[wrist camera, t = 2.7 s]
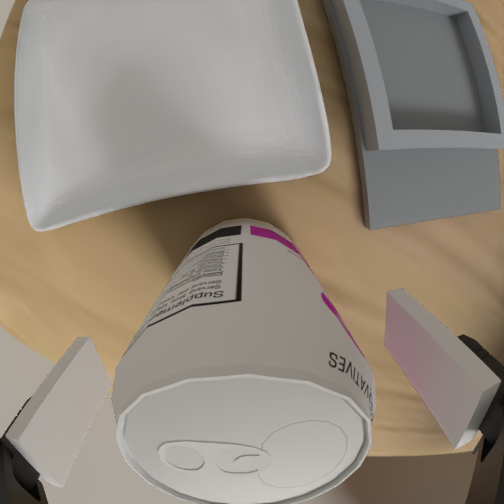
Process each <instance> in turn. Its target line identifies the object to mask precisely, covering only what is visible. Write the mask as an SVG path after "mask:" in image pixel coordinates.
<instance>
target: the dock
mask: <svg viewBox="0 0 504 504" xmlns="http://www.w3.org/2000/svg"><path fill="white" fill-rule="evenodd" d="M322 3H323V6H324V9H325V12H326V15H327V18H328V22H329V25H330V28H331V32H332V35H333V39H334V43H335V46H336V50H337V54H338V58H339V62H340V66H341V70H342V75H343V79H344V83H345V88H346V93H347V98H348V103H349V108H350V113H351V119H352V124H353V130H354V136H355V142H356V149H357V156H358V163H359V171H360V179H361V188H362V197H363V208H364V220H365V227H366V228H368V229H370V230H373V229H379V228H385V227H392V226H398V225H404V224H410V223H416V222H423V221H429V220H435V219H441V218H448V217H454V216H460V215H466V214H473V213H479V212H485V211H491V210H498V209H500V173H499V160H498V149H504V101H503V96H502V92H501V87H500V83H499V79H498V75H497V72H496V68H495V65H494V61H493V58H492V55H491V51H490V48H489V45H488V42H487V40H486V37H485V34H484V31H483V29H482V26H481V24H480V21H479V19H478V16H477V14H476V11H475V9H474V7H473V5H472V4H471V3H469V2H466V1H464V0H322Z"/></svg>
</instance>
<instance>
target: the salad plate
mask: <svg viewBox="0 0 504 504" xmlns="http://www.w3.org/2000/svg"><path fill="white" fill-rule="evenodd" d="M14 117H15V135H16V147H17V158H18V167H19V175H20V182H21V189H22V195H23V200H24V205H25V210H26V214H27V217H28V221H29V223H30V226H31V227H32V228H33V229H34V230H36V231H48V230H53V229H56V228H60V227H63V226H66V225H69V224H73V223H76V222H79V221H82V220H85V219H89V218H92V217H96V216H99V215H102V214H106V213H110V212H113V211H117V210H121V209H125V208H128V207H132V206H136V205H140V204H144V203H148V202H152V201H157V200H162V199H167V198H171V197H176V196H182V195H187V194H192V193H198V192H205V191H211V190H217V189H223V188H230V187H238V186H246V185H254V184H262V183H271V182H280V181H287V180H293V179H299V178H305V177H309V176H313V175H316V174H319V173H321V172H323V171H325V170H326V169H327V168H328V166H329V165H330V163H331V158H332V148H331V139H330V132H329V126H328V120H327V115H326V110H325V105H324V101H323V96H322V92H321V88H320V83H319V79H318V75H317V72H316V68H315V64H314V59H313V55H312V52H311V48H310V44H309V41H308V37H307V34H306V30H305V27H304V23H303V19H302V16H301V12H300V8H299V5H298V1H297V0H29V1H28V2H27V3H26V5H25V6H24V9H23V12H22V16H21V21H20V26H19V32H18V40H17V49H16V60H15V76H14Z"/></svg>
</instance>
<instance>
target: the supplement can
mask: <svg viewBox="0 0 504 504" xmlns="http://www.w3.org/2000/svg"><path fill="white" fill-rule="evenodd" d="M111 399H112V404H113V409H114V414H115V418H116V423H117V433H116V442H117V444H118V447H119V449H120V451H121V453H122V455H123V457H124V459H125V461H126V463H127V464H128V465H129V466H130V467H131V468H132V469H133V470H134V471H135V472H136V473H137V474H138V475H140V477H142V478H143V479H144V480H145V481H146V482H147V483H149V484H151V485H153V486H154V487H156V488H158V489H160V490H161V491H163V492H165V493H167V494H169V495H171V496H173V497H175V498H178V499H181V500H184V501H187V502H191V503H194V504H295V503H299V502H303V501H306V500H309V499H312V498H314V497H316V496H318V495H320V494H322V493H324V492H326V491H328V490H330V489H332V488H334V487H336V486H338V485H339V484H340V483H342V482H343V481H344V480H345V479H346V478H347V477H349V476H350V475H351V474H352V473H353V472H354V471H356V470H357V469H358V468H359V467H360V466H361V464H362V462H363V460H364V458H365V457H366V455H367V453H368V451H369V449H370V448H371V446H372V432H371V426H372V421H373V417H374V412H375V407H376V396H375V384H374V373H373V371H372V370H371V368H370V366H369V364H368V363H367V361H366V359H365V358H364V356H363V354H362V352H361V351H360V349H359V347H358V346H357V344H356V342H355V340H354V339H353V337H352V335H351V334H350V332H349V330H348V329H347V327H346V325H345V324H344V322H343V320H342V319H341V317H340V315H339V314H338V312H337V310H336V309H335V307H334V306H333V304H332V302H331V301H330V299H329V297H328V296H327V294H326V293H325V291H324V289H323V288H322V286H321V284H320V283H319V281H318V280H317V278H316V276H315V275H314V273H313V272H312V270H311V269H310V267H309V265H308V264H307V262H306V261H305V259H304V258H303V256H302V254H301V253H300V251H299V250H298V249H297V247H296V246H295V245H294V243H293V242H292V241H291V239H290V238H289V237H288V235H287V234H286V233H284V232H283V231H281V230H280V229H278V228H276V227H275V226H273V225H272V224H270V223H268V222H264V221H260V220H255V219H250V218H240V219H233V220H226V221H223V222H221V223H219V224H217V225H215V226H213V227H211V228H210V229H208V230H206V231H204V233H203V234H202V235H201V236H200V237H199V238H198V239H197V241H196V242H195V243H194V244H193V245H192V246H191V248H190V249H189V251H188V252H187V254H186V255H185V257H184V258H183V260H182V261H181V263H180V264H179V266H178V267H177V269H176V270H175V272H174V274H173V275H172V277H171V278H170V280H169V281H168V283H167V284H166V286H165V288H164V289H163V291H162V292H161V294H160V296H159V297H158V299H157V300H156V302H155V303H154V305H153V307H152V308H151V310H150V312H149V313H148V315H147V316H146V318H145V320H144V321H143V323H142V325H141V326H140V328H139V330H138V331H137V333H136V335H135V336H134V338H133V340H132V341H131V343H130V345H129V346H128V348H127V350H126V351H125V353H124V355H123V357H122V358H121V360H120V362H119V364H118V365H117V367H116V372H115V378H114V384H113V391H112V398H111Z"/></svg>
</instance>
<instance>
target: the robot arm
mask: <svg viewBox="0 0 504 504" xmlns="http://www.w3.org/2000/svg"><path fill="white" fill-rule="evenodd" d="M384 345H385V347H386V348H387V350H388V351H389V352H390V354H391V355H392V356H393V358H394V359H395V361H396V362H397V364H398V365H399V366H400V368H401V369H402V371H403V372H404V373H405V375H406V376H407V378H408V379H409V381H410V382H411V384H412V385H413V386H414V388H415V389H416V391H417V392H418V394H419V395H420V397H421V398H422V400H423V401H424V403H425V404H426V406H427V407H428V409H429V410H430V412H431V413H432V415H433V416H434V418H435V419H436V421H437V422H438V424H439V425H440V427H441V429H442V430H443V432H444V433H445V435H446V436H447V438H448V440H449V441H450V443H451V444H452V446H453V447H454V449H457V448H459V447H461V446H463V445H464V444H466V443H468V442H470V441H471V440H473V438H474V436H475V435H476V433H477V431H478V429H479V430H480V431H481V433H482V434H483V436H482V437H481V439H480V441H479V442H478V444H477V446H476V447H475V449H474V451H473V454H475V453H476V452H477V450H478V449H479V450H478V456H477V460H476V465H475V469H474V473H473V478H472V482H471V485H470V489H469V493H468V496H467V499H466V502H465V504H504V367H503V366H502V365H501V364H500V363H499V362H498V361H497V360H496V359H495V358H494V357H493V356H492V355H490V353H489V352H488V351H487V350H485V349H483V347H482V346H481V345H480V344H479V343H478V342H477V341H476V340H474V339H472V338H470V337H468V336H466V335H460V336H458V337H457V336H456V335H454V334H453V333H452V332H451V331H450V330H449V329H448V328H447V327H446V326H445V325H444V324H442V323H441V322H440V321H439V320H438V319H437V318H436V317H435V316H434V315H433V314H431V313H430V312H429V311H428V310H427V309H426V308H425V307H423V306H422V305H421V304H420V303H419V302H418V301H417V300H415V299H414V298H413V297H412V296H411V295H410V294H409V293H407V292H406V291H405V290H404V289H403V288H401V289H397V290H393V291H388V292H387V306H386V326H385V341H384ZM111 384H112V381H111V379H110V378H109V376H108V374H107V372H106V370H105V368H104V366H103V364H102V361H101V359H100V357H99V355H98V353H97V351H96V349H95V346H94V344H93V342H92V340H91V337H78V338H77V339H76V340H75V341H74V343H73V344H72V345H71V346H70V348H69V349H68V350H67V351H66V353H65V354H64V355H63V356H62V358H61V359H60V360H59V361H58V363H57V364H56V365H55V367H54V368H53V369H52V371H51V372H50V373H49V374H48V376H47V377H46V378H45V380H44V381H43V382H42V384H41V385H40V386H39V388H38V389H37V390H36V392H35V393H34V394H33V396H32V397H30V398H29V399H28V400H27V401H26V403H25V404H24V405H23V407H22V410H20V411H19V412H18V414H17V415H18V416H16V417H15V418H14V420H13V421H12V423H11V424H10V426H9V427H8V428H7V430H6V431H5V433H4V435H3V436H2V437H1V439H0V504H48V501H47V498H46V495H45V491H44V488H43V485H42V483H41V482H40V481H39V480H38V478H39V476H40V475H41V476H42V477H43V478H44V479H45V480H46V481H47V482H49V483H50V484H53V485H56V486H59V487H62V488H64V485H65V483H66V481H67V478H68V476H69V473H70V471H71V469H72V466H73V464H74V462H75V460H76V457H77V455H78V453H79V451H80V449H81V446H82V444H83V442H84V440H85V438H86V436H87V433H88V431H89V429H90V427H91V425H92V423H93V421H94V418H95V416H96V414H97V412H98V410H99V408H100V406H101V404H102V402H103V400H104V398H105V396H106V394H107V392H108V390H109V388H110V386H111Z"/></svg>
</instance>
